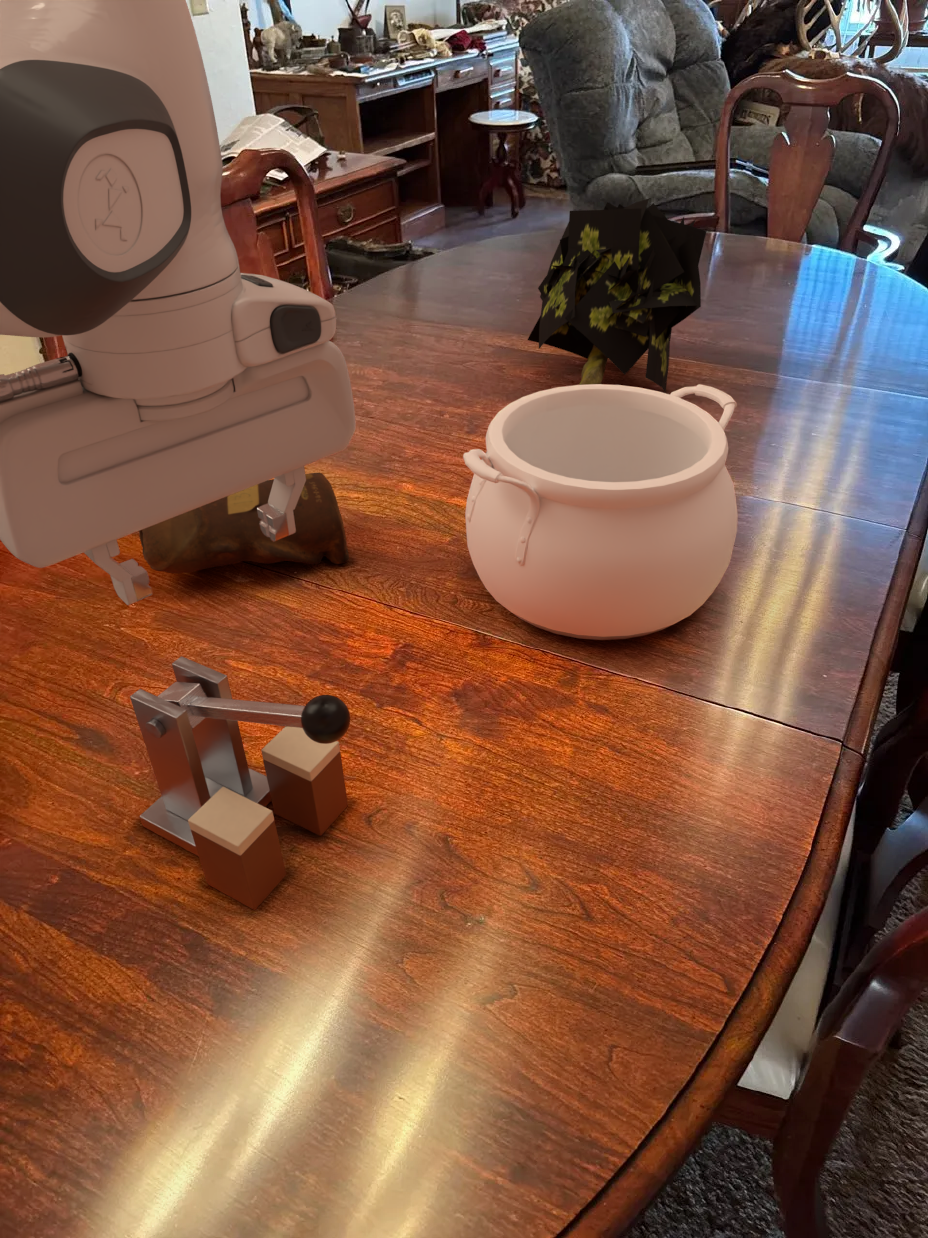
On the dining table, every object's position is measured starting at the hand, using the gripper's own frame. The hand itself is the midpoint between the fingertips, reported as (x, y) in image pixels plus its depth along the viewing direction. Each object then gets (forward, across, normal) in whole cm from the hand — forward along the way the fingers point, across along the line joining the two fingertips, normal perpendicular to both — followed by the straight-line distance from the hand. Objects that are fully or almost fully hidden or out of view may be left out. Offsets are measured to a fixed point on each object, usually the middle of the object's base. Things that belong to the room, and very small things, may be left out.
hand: (210, 563), depth 54 cm
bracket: (+25, -2, +6) cm, 26 cm away
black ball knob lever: (+13, 0, -1) cm, 13 cm away
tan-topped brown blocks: (+25, 0, -1) cm, 25 cm away
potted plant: (+25, +81, +39) cm, 93 cm away
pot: (+25, +43, +6) cm, 50 cm away
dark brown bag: (+25, +19, +35) cm, 47 cm away
